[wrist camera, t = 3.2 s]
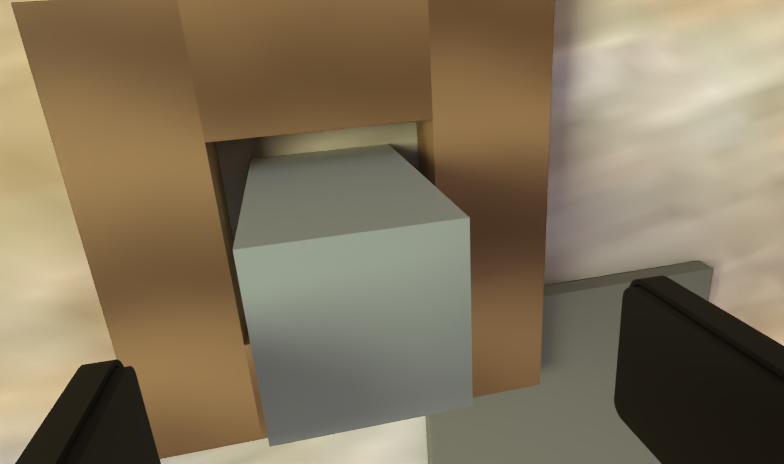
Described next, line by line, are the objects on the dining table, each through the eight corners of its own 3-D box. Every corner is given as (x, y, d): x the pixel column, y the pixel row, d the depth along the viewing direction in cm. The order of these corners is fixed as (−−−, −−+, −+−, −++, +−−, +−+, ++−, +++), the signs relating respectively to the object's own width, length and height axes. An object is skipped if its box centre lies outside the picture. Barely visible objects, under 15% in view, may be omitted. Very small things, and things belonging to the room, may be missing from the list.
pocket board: (44, 7, 14) (10, 2, 13) (524, -21, 17) (555, -28, 15) (159, 421, 19) (147, 461, 17) (517, 355, 22) (539, 384, 20)
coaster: (419, 306, 20) (425, 316, 19) (698, 260, 22) (713, 268, 21) (432, 536, 24) (437, 552, 23) (665, 481, 26) (676, 494, 25)
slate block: (250, 158, 17) (232, 250, 10) (388, 144, 18) (469, 217, 10) (271, 285, 18) (270, 446, 11) (397, 266, 19) (472, 405, 12)
